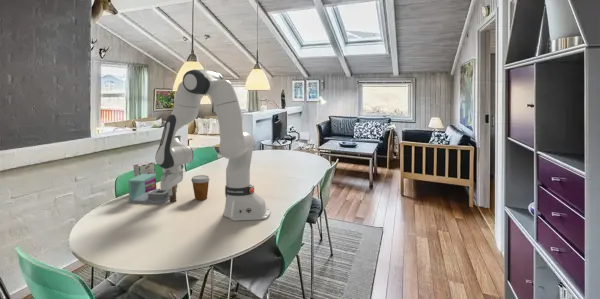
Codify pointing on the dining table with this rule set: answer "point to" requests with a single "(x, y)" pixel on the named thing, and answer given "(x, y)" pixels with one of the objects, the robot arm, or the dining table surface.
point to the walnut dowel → (173, 197)
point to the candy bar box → (146, 169)
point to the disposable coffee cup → (200, 186)
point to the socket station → (139, 194)
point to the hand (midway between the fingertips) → (172, 193)
